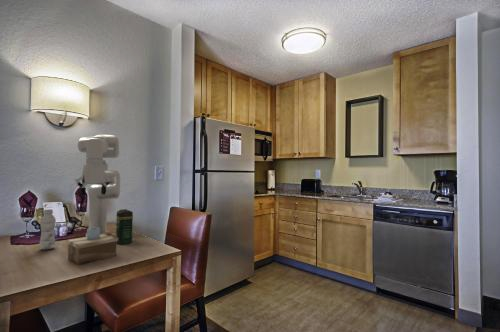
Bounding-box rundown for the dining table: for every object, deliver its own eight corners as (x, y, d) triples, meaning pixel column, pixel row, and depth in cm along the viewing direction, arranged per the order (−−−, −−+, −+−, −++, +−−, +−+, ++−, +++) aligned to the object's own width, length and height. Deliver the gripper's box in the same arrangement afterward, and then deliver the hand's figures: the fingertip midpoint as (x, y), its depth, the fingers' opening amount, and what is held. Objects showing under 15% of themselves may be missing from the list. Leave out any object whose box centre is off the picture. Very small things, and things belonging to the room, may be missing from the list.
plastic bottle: (46, 251, 130) (47, 211, 130) (35, 250, 131) (36, 210, 132) (58, 247, 136) (59, 209, 137) (47, 246, 138) (48, 208, 138)
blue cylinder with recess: (84, 238, 123) (85, 228, 123) (96, 236, 127) (97, 226, 127) (89, 240, 120) (90, 230, 120) (101, 238, 124) (102, 228, 124)
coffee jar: (133, 243, 148) (134, 210, 148) (118, 245, 143) (119, 211, 143) (129, 239, 155) (129, 208, 155) (114, 241, 150) (115, 209, 150)
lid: (67, 243, 121) (67, 236, 121) (105, 236, 134) (105, 230, 134) (78, 248, 113) (79, 241, 113) (117, 240, 126) (117, 234, 127)
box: (68, 258, 120) (68, 243, 121) (104, 250, 133) (104, 236, 133) (79, 264, 113) (79, 248, 113) (116, 255, 126) (116, 241, 126)
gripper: (107, 162, 147) (107, 193, 147) (72, 161, 133) (71, 195, 133) (114, 162, 142) (113, 194, 142) (79, 161, 128) (78, 196, 128)
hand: (93, 194), depth 137 cm, fingers open, 9 cm apart
